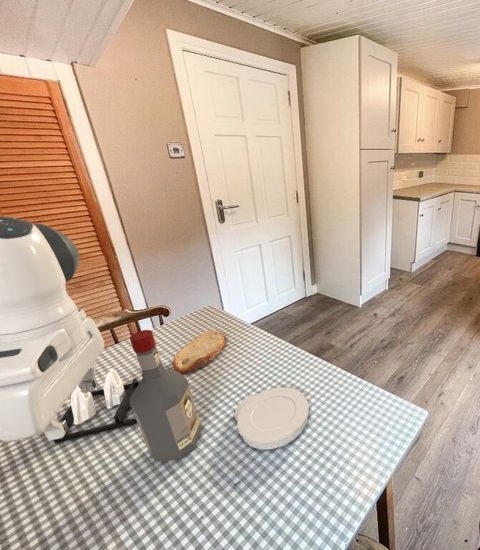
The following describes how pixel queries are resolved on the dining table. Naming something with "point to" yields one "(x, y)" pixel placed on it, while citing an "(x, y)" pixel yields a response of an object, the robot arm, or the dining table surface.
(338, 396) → the dining table surface
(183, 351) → the bread slice
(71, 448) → the dining table surface
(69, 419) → the dish rack
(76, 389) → the shaker set
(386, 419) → the dining table surface
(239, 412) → the lid
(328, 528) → the dining table surface
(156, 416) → the liquor
